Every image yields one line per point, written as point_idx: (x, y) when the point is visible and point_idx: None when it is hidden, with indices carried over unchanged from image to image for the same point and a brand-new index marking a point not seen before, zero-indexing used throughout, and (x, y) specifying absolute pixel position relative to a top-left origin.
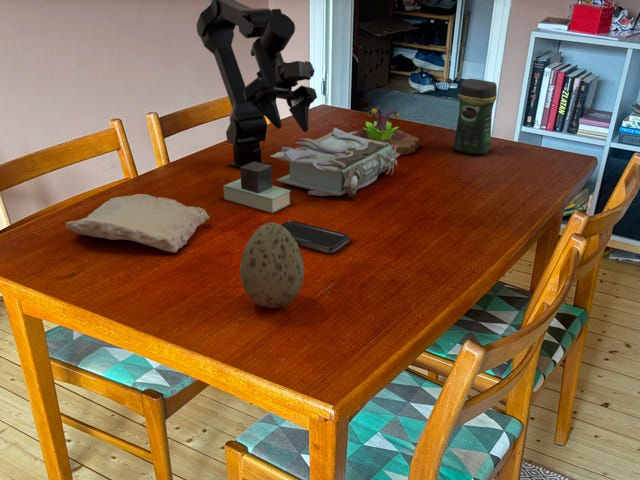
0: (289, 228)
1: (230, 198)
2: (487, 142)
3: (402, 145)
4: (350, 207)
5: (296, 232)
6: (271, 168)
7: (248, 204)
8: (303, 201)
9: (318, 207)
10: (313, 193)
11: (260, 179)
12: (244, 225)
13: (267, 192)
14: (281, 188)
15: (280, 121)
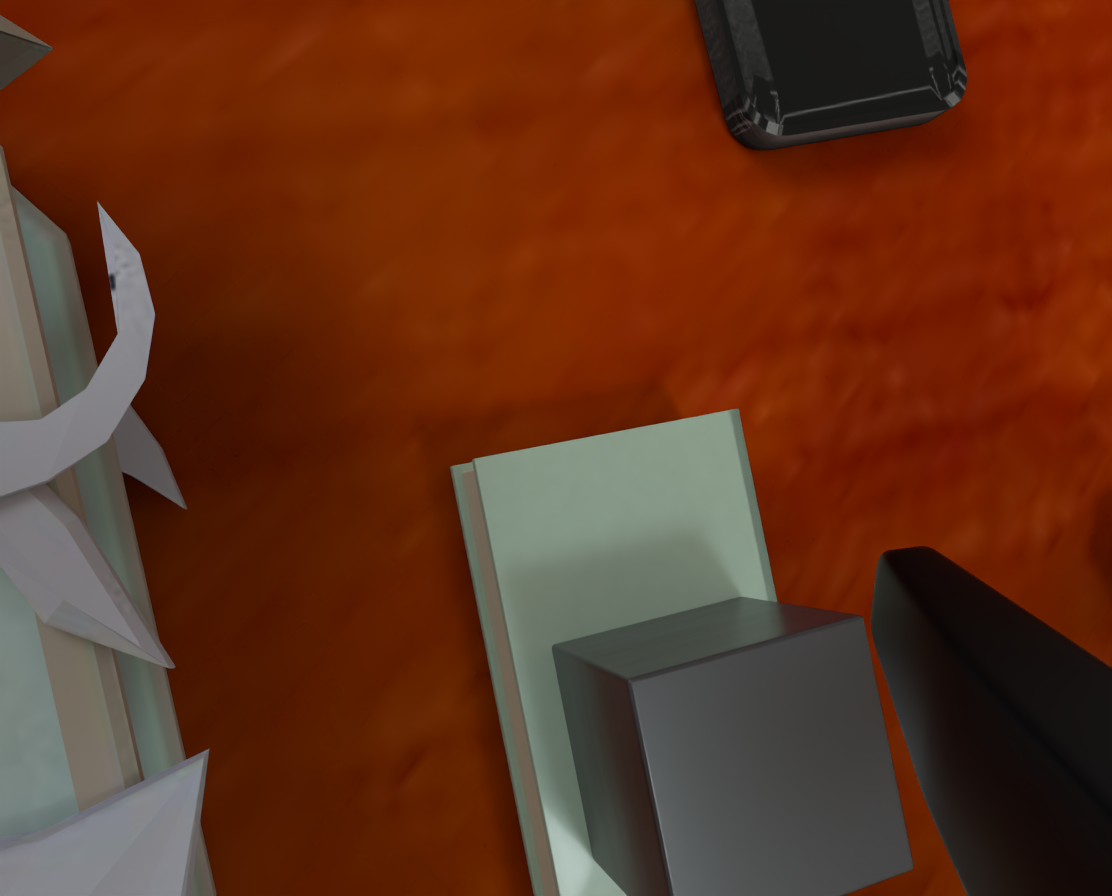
0: (839, 49)
1: None
2: None
3: None
4: (99, 30)
5: None
6: (622, 672)
7: None
8: (322, 437)
9: (323, 243)
10: (162, 454)
11: (771, 615)
12: (946, 390)
13: (668, 564)
14: (507, 558)
15: (957, 614)
